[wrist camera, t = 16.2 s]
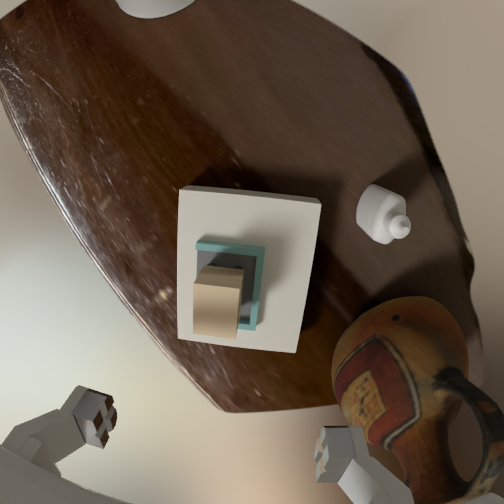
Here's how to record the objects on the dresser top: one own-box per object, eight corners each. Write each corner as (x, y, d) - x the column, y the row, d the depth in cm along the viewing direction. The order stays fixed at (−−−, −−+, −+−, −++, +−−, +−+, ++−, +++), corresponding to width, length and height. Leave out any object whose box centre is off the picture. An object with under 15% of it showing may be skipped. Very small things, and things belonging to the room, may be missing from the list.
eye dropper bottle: (343, 207, 39) (370, 233, 27) (375, 178, 37) (414, 193, 26) (364, 232, 39) (396, 266, 28) (395, 204, 38) (437, 228, 27)
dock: (188, 185, 39) (176, 191, 34) (316, 198, 38) (323, 206, 33) (185, 323, 45) (175, 343, 41) (294, 336, 45) (295, 358, 40)
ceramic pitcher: (307, 378, 47) (320, 554, 19) (361, 266, 41) (464, 448, 13) (404, 395, 48) (455, 534, 20) (463, 300, 42) (573, 429, 13)
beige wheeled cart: (206, 260, 37) (193, 283, 31) (245, 264, 37) (239, 288, 31) (204, 304, 39) (192, 333, 33) (241, 309, 39) (235, 339, 33)
